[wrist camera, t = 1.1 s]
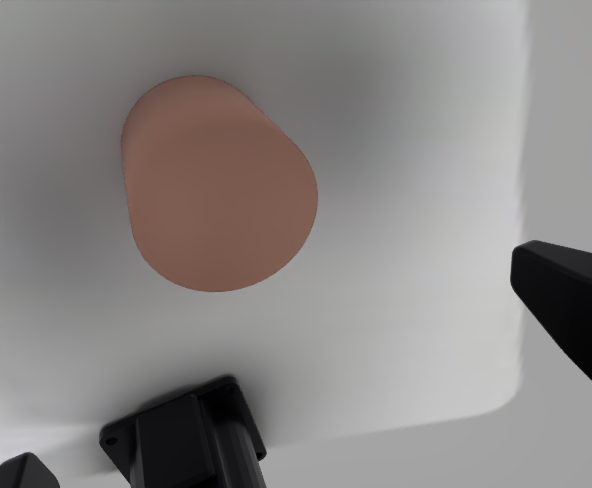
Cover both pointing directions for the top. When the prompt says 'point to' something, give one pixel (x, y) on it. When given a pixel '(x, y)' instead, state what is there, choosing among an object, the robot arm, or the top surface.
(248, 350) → the top surface
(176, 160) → the brick cylinder
